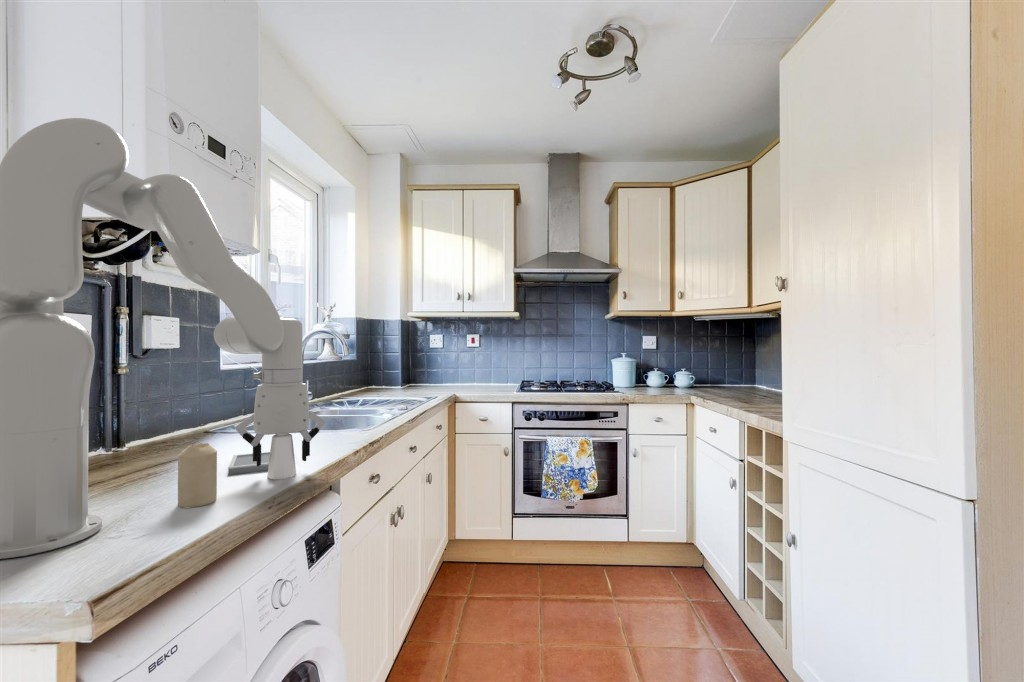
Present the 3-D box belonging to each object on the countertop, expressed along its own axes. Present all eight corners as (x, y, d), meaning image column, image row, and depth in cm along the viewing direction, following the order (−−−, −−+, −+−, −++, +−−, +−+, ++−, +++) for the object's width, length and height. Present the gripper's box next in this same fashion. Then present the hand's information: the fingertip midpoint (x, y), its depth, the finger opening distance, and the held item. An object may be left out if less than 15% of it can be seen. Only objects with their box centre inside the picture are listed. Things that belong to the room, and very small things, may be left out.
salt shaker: (260, 479, 91) (261, 424, 91) (278, 471, 97) (279, 420, 97) (285, 480, 90) (285, 425, 90) (301, 472, 96) (302, 421, 96)
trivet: (228, 474, 94) (228, 467, 94) (233, 461, 105) (233, 455, 105) (292, 467, 100) (292, 460, 100) (290, 455, 110) (290, 449, 110)
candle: (196, 509, 74) (197, 448, 75) (169, 507, 76) (169, 447, 76) (224, 498, 80) (224, 441, 80) (198, 496, 81) (198, 440, 81)
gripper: (231, 380, 86) (231, 472, 86) (329, 377, 94) (328, 461, 94) (235, 377, 93) (234, 462, 93) (325, 375, 101) (325, 453, 101)
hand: (282, 461), depth 93 cm, fingers open, 7 cm apart
